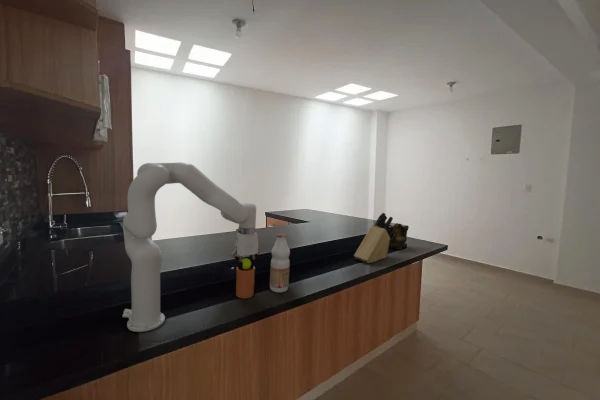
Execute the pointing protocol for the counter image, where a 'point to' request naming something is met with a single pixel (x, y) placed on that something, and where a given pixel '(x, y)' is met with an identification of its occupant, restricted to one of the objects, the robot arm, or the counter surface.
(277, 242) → the fruit juice
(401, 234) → the pottery vessel
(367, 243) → the knife block
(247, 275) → the tube
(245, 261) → the ball
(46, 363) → the counter surface
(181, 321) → the counter surface
